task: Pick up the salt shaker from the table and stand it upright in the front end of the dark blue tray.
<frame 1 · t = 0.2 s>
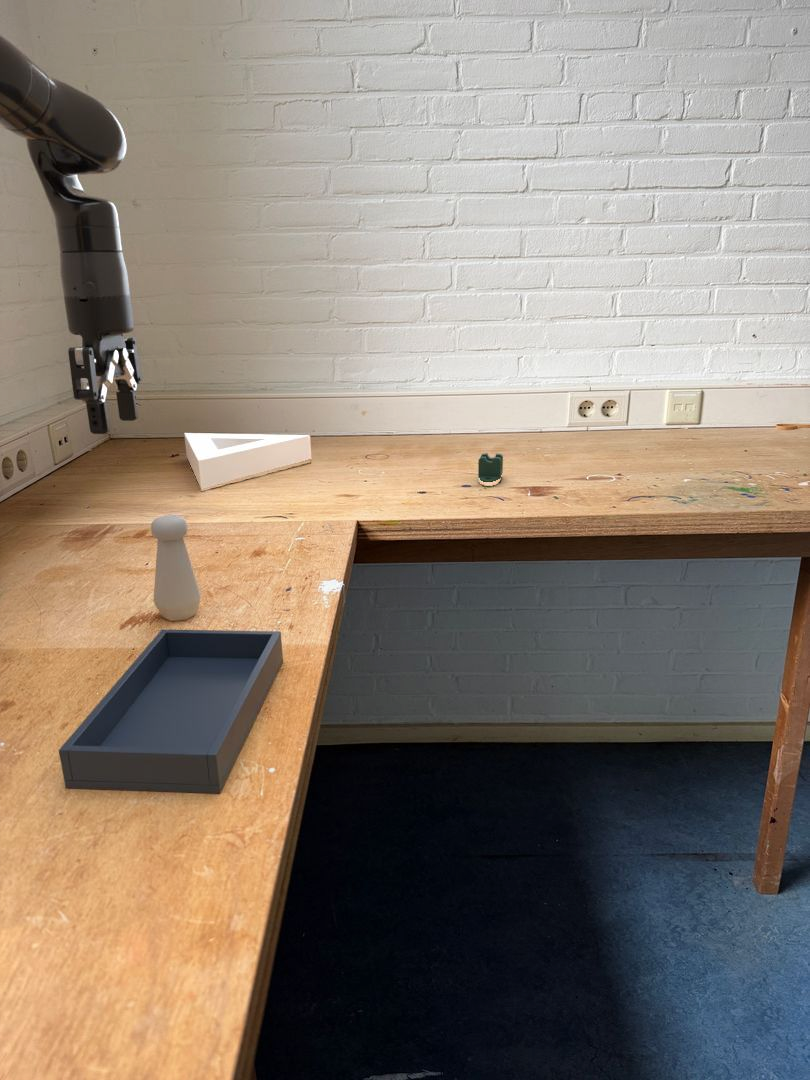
hand: (115, 426, 101), 23 cm above the table, tool pointing down, fingers open, 8 cm apart
mount: (490, 480, 163), on the table
salt shaker: (179, 615, 102), on the table
dark blue tray: (188, 716, 79), on the table
triangle block: (226, 476, 170), on the table
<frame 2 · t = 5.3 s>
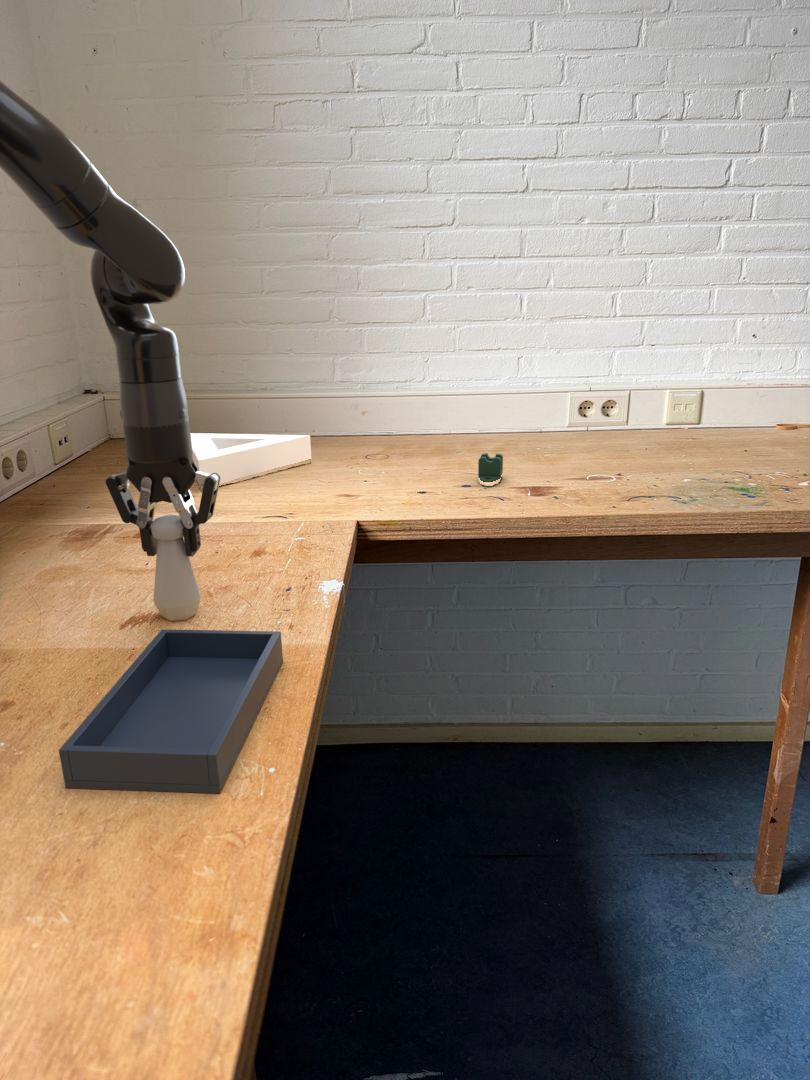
hand: (172, 553, 100), 8 cm above the table, tool pointing down, fingers closed on salt shaker, 4 cm apart
salt shaker: (179, 615, 102), on the table, touching gripper
everything else where it was.
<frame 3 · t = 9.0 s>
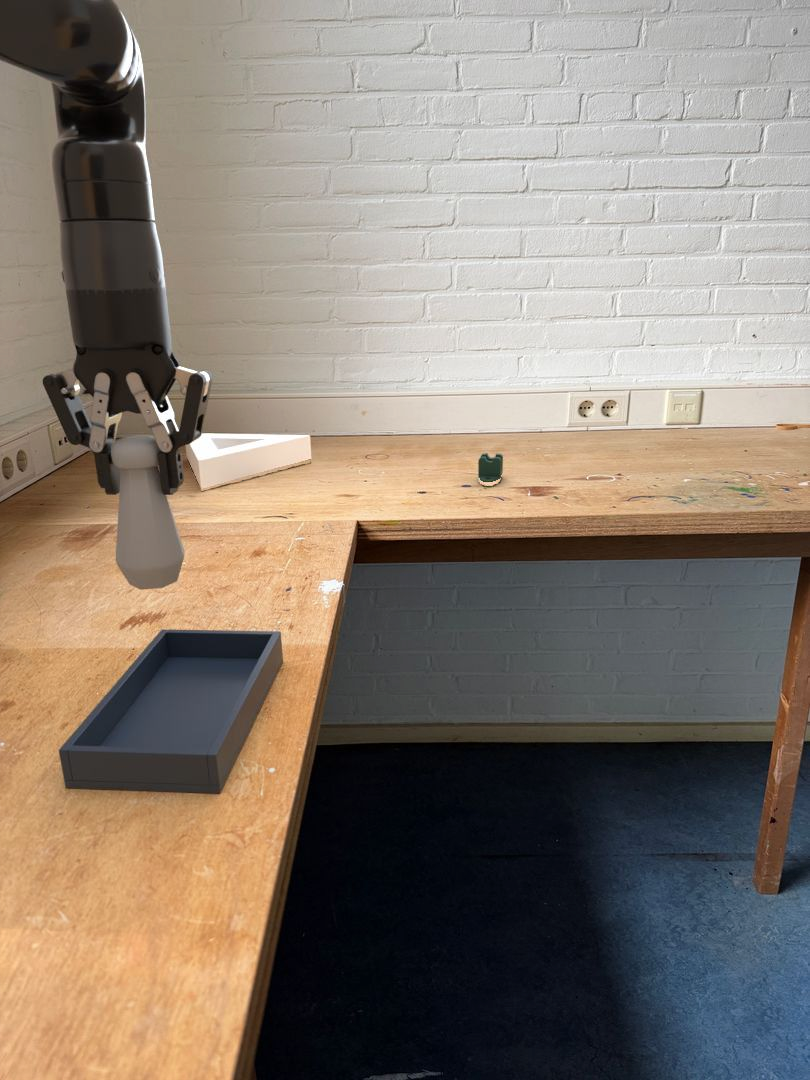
hand: (142, 491, 69), 24 cm above the table, tool pointing down, fingers closed on salt shaker, 4 cm apart
salt shaker: (154, 583, 71), point 15 cm above the table, touching gripper
everything else where it was.
when the fingers open (9 cm above the table, at t = 12.7 s): salt shaker stays where it is, resting on dark blue tray.
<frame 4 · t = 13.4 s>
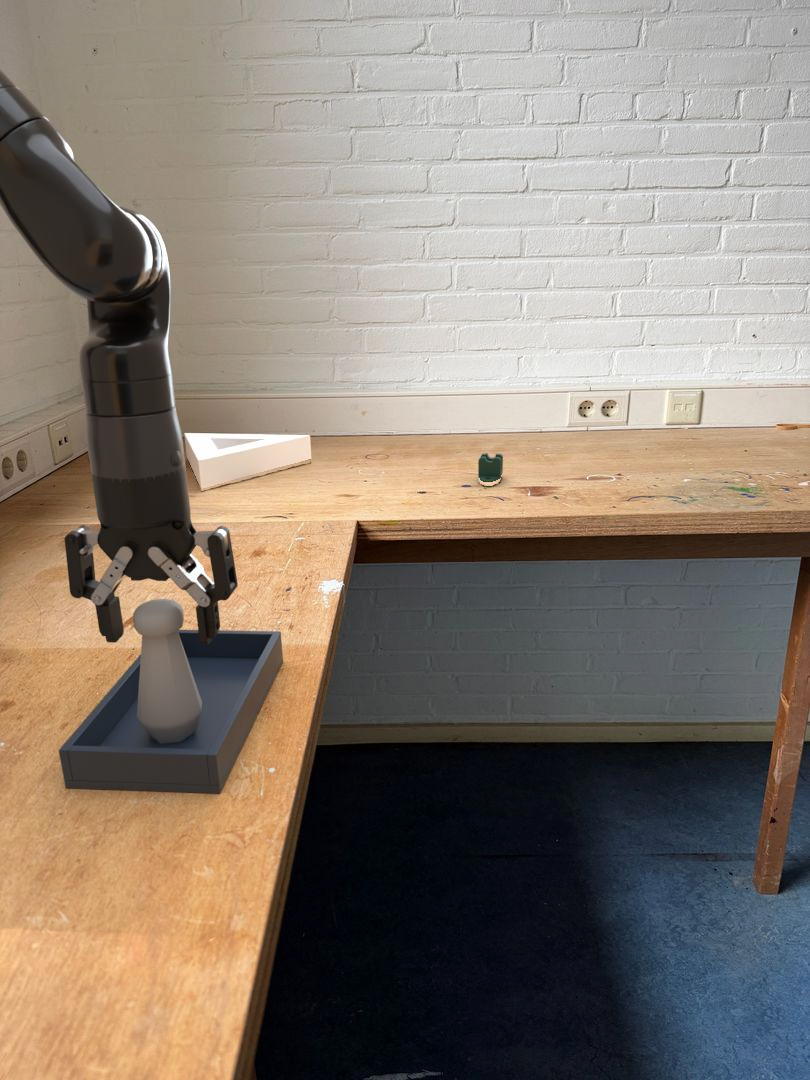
hand: (161, 639, 72), 10 cm above the table, tool pointing down, fingers open, 8 cm apart
salt shaker: (173, 733, 75), point 1 cm above the table, touching dark blue tray
everything else where it was.
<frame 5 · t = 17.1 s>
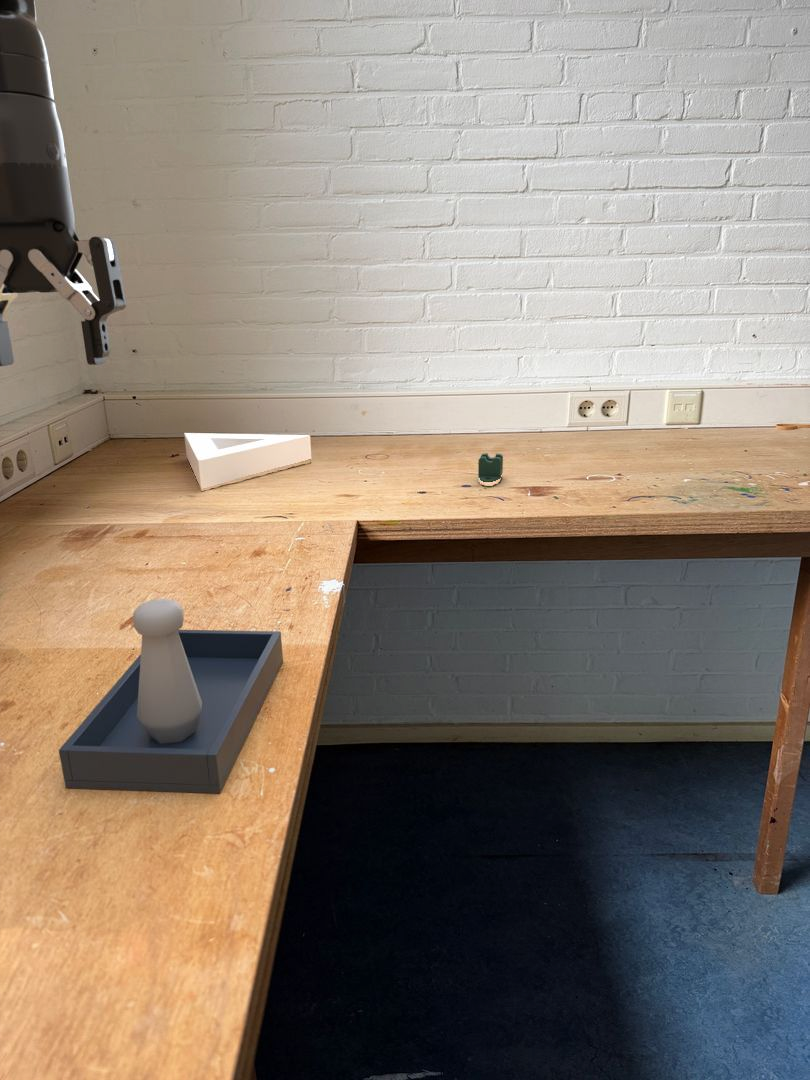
hand: (50, 364, 70), 34 cm above the table, tool pointing down, fingers open, 8 cm apart
nothing on the table moved.
at the end: salt shaker inside the target area in the dark blue tray (0.1 cm from its centre), point 0.6 cm above the dark blue tray's base; salt shaker tilted 0° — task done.
